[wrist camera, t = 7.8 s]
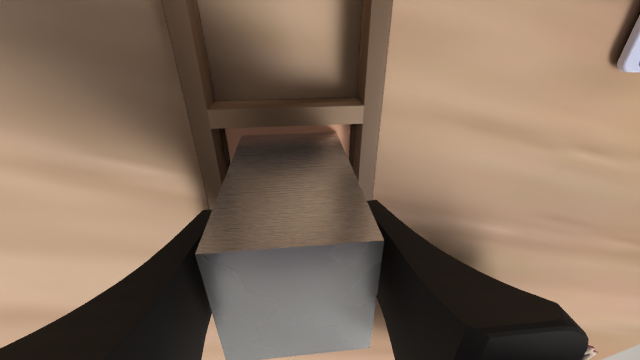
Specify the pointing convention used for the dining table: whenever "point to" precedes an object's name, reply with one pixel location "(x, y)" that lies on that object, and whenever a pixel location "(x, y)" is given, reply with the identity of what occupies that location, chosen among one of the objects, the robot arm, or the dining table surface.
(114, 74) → the dining table surface
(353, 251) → the square peg
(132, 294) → the robot arm
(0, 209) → the dining table surface
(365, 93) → the rail
